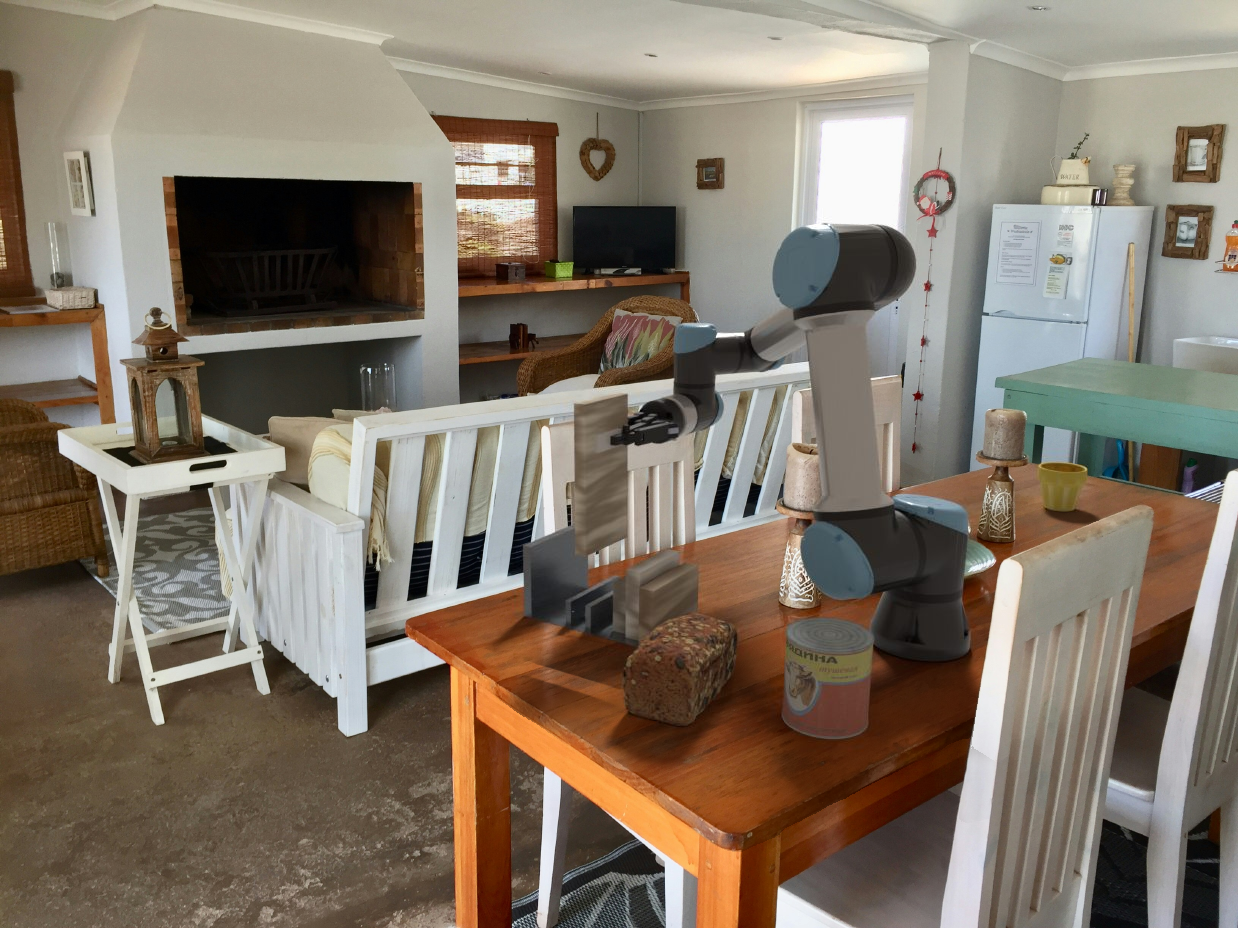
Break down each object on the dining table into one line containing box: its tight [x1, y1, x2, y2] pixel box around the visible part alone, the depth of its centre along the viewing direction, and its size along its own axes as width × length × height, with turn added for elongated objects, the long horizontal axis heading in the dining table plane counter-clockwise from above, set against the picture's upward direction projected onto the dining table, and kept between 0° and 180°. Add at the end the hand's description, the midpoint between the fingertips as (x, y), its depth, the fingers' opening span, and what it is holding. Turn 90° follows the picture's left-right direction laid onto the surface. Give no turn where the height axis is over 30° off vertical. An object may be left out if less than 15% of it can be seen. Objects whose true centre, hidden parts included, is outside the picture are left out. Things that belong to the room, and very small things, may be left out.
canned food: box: [781, 616, 874, 740], centre depth 132 cm, size 11×11×12 cm
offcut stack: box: [613, 548, 700, 642], centre depth 158 cm, size 8×14×11 cm, turn 147°
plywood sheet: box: [573, 392, 629, 557], centre depth 159 cm, size 2×12×24 cm, turn 147°
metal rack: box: [522, 523, 639, 648], centre depth 162 cm, size 25×16×14 cm, turn 57°
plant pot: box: [1037, 461, 1088, 513], centre depth 230 cm, size 10×10×10 cm
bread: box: [622, 613, 739, 727], centre depth 139 cm, size 19×11×10 cm, turn 154°
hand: (589, 443), depth 155 cm, fingers closed on plywood sheet, 2 cm apart
